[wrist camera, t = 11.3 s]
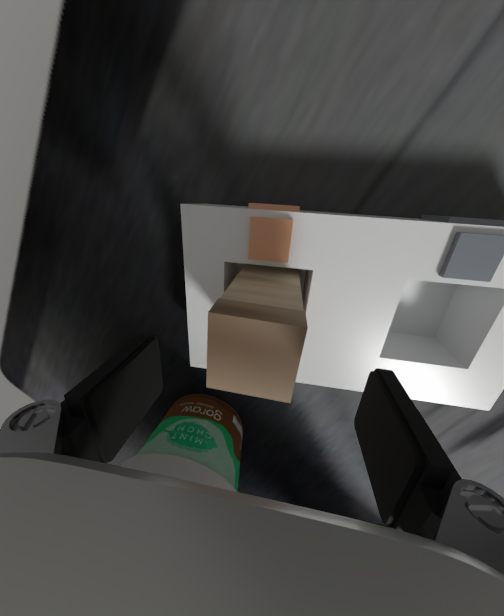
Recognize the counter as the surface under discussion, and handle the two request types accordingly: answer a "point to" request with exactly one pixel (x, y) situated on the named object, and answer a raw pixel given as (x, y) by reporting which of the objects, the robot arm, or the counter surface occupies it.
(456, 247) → the socket block
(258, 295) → the plug
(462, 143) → the counter surface
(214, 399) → the food container
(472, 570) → the robot arm
